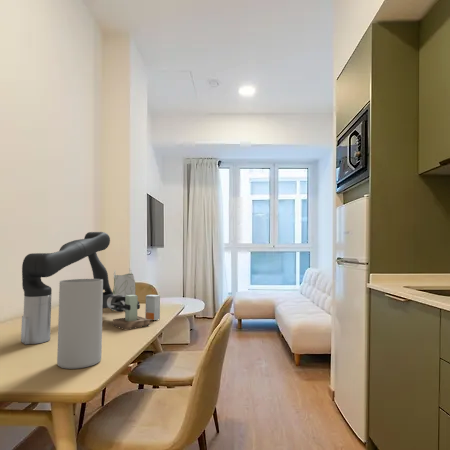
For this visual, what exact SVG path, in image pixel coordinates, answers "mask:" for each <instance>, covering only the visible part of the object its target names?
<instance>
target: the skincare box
mask: <svg viewBox="0 0 450 450" xmlns="http://www.w3.org/2000/svg"><path fill="white" fill-rule="evenodd" d="M144 313H145V317H144V318H146V319H149V320H150V321H151V320H157V321H159V320H158V319H161V295H159V294H147V295H145V312H144Z"/></svg>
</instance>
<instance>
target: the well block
mask: <svg viewBox="0 0 450 450" xmlns="http://www.w3.org/2000/svg"><path fill="white" fill-rule="evenodd" d="M150 324H151V320H149V319H146V318H145V317H142V316H140V315H139V316H138V315H137V320H134V321H125V317H121V318H120V317H119V318H114V319H112V326H113V325H114V326H113V327H115V326H117V327H116V328H118V327H120V328H119V329H121V328H123V329H128V330H131V329H130V328H134V329H136V328H135V327H140V328H142V327H141V326H146V327H148V326H147V325H150ZM123 329H122V330H123Z"/></svg>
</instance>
